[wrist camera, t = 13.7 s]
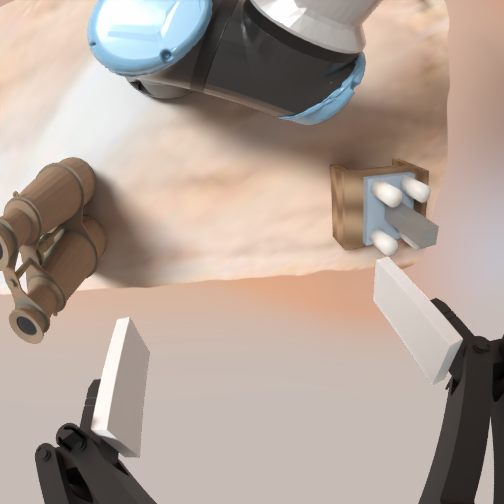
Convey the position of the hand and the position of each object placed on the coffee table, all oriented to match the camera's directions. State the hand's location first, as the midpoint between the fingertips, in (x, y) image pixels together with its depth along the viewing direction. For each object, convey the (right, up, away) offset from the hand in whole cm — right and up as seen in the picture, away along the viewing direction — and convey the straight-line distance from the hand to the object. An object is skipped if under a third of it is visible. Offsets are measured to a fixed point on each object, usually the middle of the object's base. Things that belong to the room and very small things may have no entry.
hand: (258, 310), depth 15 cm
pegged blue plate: (+23, +11, +33) cm, 42 cm away
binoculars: (-31, +10, +31) cm, 45 cm away
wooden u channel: (+22, +14, +38) cm, 46 cm away
